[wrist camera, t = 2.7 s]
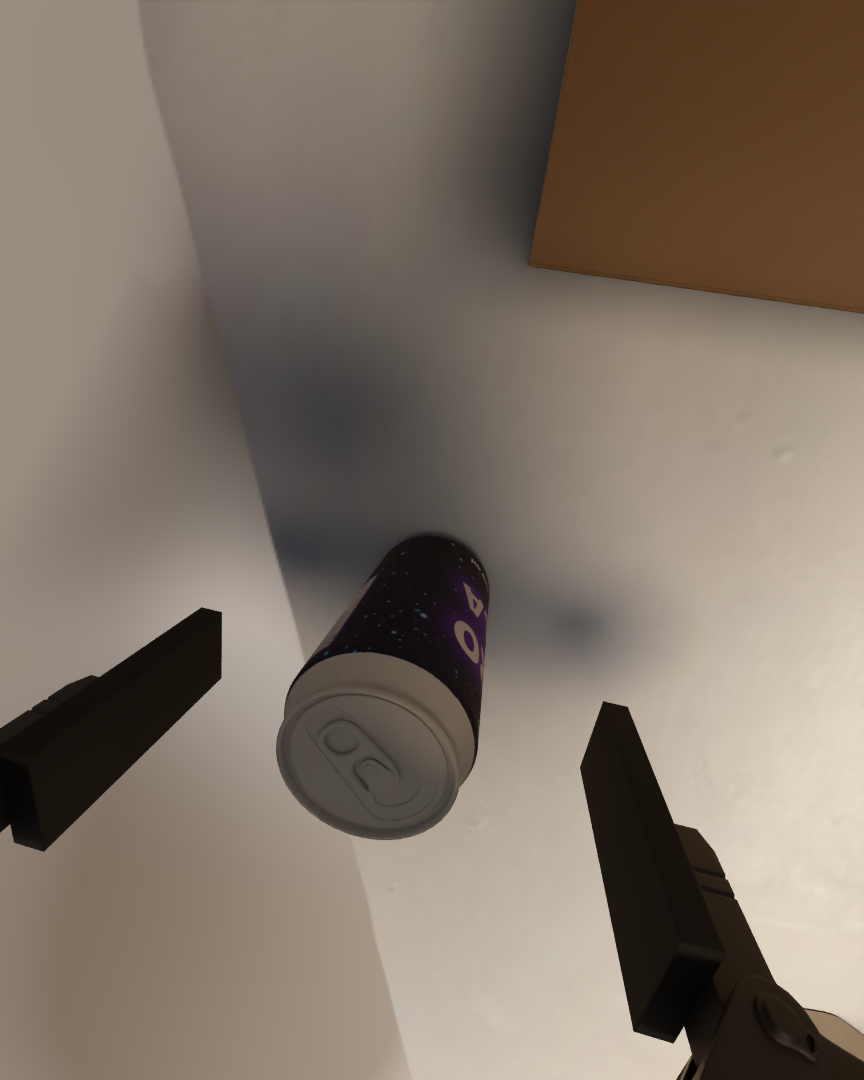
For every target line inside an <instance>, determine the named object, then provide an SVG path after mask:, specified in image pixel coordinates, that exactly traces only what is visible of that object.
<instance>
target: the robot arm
mask: <svg viewBox="0 0 864 1080" xmlns="http://www.w3.org/2000/svg"><path fill="white" fill-rule="evenodd" d="M221 653H222V612H219V611H214V610H210V609H206V608H200V609H199V610H197V611H196V612H194V613H193V614H191V615H190V616H188V617H187V618H185V619H184V620H182V621H181V622H180V623H178V624H177V625H175V626H174V627H172V628H171V629H169V630H168V631H167V632H165V633H163V634H162V635H160V636H159V637H158V638H156V639H155V640H153V641H152V642H150V643H149V644H147V645H146V646H145V647H143V648H141V649H140V650H138V651H137V652H136V653H134V654H133V655H131V656H130V657H128V658H127V659H125V660H124V661H122V662H121V663H120V664H118V665H117V666H115V667H114V668H112V669H111V670H109V671H108V672H106V673H105V674H103V675H102V676H101V677H96V676H92V675H90V676H88V677H85V678H83V679H80V680H78V681H75V682H73V683H70V684H68V685H66V686H65V687H63V688H62V689H60V690H59V691H57V692H55V693H54V694H53V695H51V696H49V697H48V699H47V700H43V701H42V702H40V703H39V704H37V705H36V706H34V707H33V708H32V710H31V711H30V710H28V711H26V712H25V713H23V714H22V715H20V716H19V717H17V718H15V719H14V720H12V721H11V722H9V723H8V724H6V725H5V726H3V727H2V728H0V832H1V831H2V830H4V829H5V828H6V827H7V826H8V825H11V829H12V835H13V839H14V843H17V844H20V845H24V846H27V847H30V848H33V849H37V850H40V851H45V850H46V849H47V848H48V847H49V846H50V845H51V844H52V843H53V842H54V841H55V840H56V839H57V838H58V837H59V836H60V835H61V834H63V832H64V831H66V829H68V828H69V827H70V826H71V825H72V824H73V823H74V822H75V821H76V820H77V819H78V818H79V817H80V816H81V815H82V814H83V813H84V812H85V811H86V810H87V809H88V808H89V807H90V806H91V805H92V804H93V803H94V802H95V801H96V800H97V799H98V798H99V797H100V796H101V795H102V794H103V793H104V792H105V791H106V790H107V789H108V788H109V787H110V786H111V785H113V784H114V783H115V782H116V780H118V779H119V778H120V777H121V776H122V775H123V774H124V773H125V772H126V771H127V770H128V769H129V768H130V767H131V766H132V765H133V764H134V763H135V762H136V761H137V760H138V759H139V758H140V757H141V756H142V755H143V754H144V753H145V752H146V751H147V750H148V749H149V748H150V747H151V746H152V745H153V744H154V743H155V742H157V740H159V739H160V738H161V736H163V735H164V734H165V733H166V732H167V731H168V730H169V729H170V728H171V727H172V726H173V725H174V724H175V723H176V722H177V721H178V720H179V719H180V718H181V717H182V716H183V715H184V714H185V713H186V712H187V711H188V710H189V709H190V708H191V707H192V706H193V705H194V704H195V703H196V702H197V701H198V700H199V699H200V698H201V697H202V696H203V695H204V694H206V693H207V691H209V690H210V689H211V688H212V687H213V686H214V685H215V684H216V683H217V682H218V681H219V680H220V679H221V657H222V654H221ZM580 770H581V775H582V780H583V784H584V789H585V794H586V799H587V804H588V809H589V814H590V819H591V824H592V829H593V834H594V839H595V844H596V848H597V853H598V858H599V863H600V868H601V873H602V878H603V883H604V888H605V893H606V898H607V903H608V908H609V912H610V917H611V922H612V927H613V932H614V937H615V942H616V947H617V952H618V957H619V962H620V967H621V972H622V976H623V981H624V986H625V991H626V996H627V1001H628V1006H629V1011H630V1016H631V1021H632V1026H633V1031H634V1032H637V1033H641V1034H644V1035H647V1036H650V1037H654V1038H657V1039H660V1040H664V1041H667V1042H670V1043H673V1044H674V1042H675V1040H676V1039H677V1037H678V1035H679V1034H680V1032H681V1030H682V1029H683V1027H685V1031H686V1034H687V1038H688V1041H689V1045H690V1048H691V1052H692V1055H691V1057H690V1059H689V1060H688V1062H687V1063H686V1065H685V1067H684V1068H683V1070H682V1071H681V1073H680V1074H679V1076H678V1078H677V1079H676V1080H864V1061H862V1060H861V1059H859V1058H857V1057H856V1056H854V1055H852V1054H851V1053H849V1052H848V1051H846V1050H844V1049H843V1048H841V1047H839V1046H838V1045H836V1044H835V1043H833V1042H831V1041H830V1040H829V1039H827V1038H826V1037H824V1036H823V1035H822V1034H820V1033H819V1030H818V1029H817V1027H816V1026H815V1024H814V1023H813V1021H812V1020H811V1018H810V1017H809V1015H808V1014H807V1012H806V1011H805V1010H804V1008H803V1007H802V1006H801V1005H800V1004H799V1003H798V1002H797V1001H796V1000H795V999H794V998H793V997H792V996H791V995H790V994H789V993H788V992H787V991H785V990H784V989H783V988H781V987H780V986H778V985H777V984H776V982H775V980H774V978H773V977H772V975H771V973H770V970H769V968H768V966H767V964H766V962H765V960H764V957H763V955H762V953H761V951H760V949H759V947H758V944H757V942H756V940H755V938H754V936H753V934H752V932H751V929H750V927H749V925H748V923H747V921H746V919H745V916H744V914H743V912H742V910H741V908H740V906H739V903H738V901H737V900H736V899H735V898H734V893H733V890H732V888H731V886H730V884H729V882H728V880H726V879H725V873H724V871H723V869H722V867H721V865H720V862H719V860H718V858H717V856H716V854H715V852H714V850H713V849H712V848H711V847H710V845H709V844H708V843H707V842H706V840H705V839H704V838H703V837H702V835H701V834H700V833H699V832H698V830H697V829H693V828H689V827H685V826H681V825H678V824H674V822H673V820H672V817H671V815H670V812H669V810H668V807H667V805H666V802H665V800H664V797H663V795H662V792H661V790H660V787H659V785H658V782H657V780H656V777H655V775H654V772H653V770H652V767H651V764H650V762H649V759H648V757H647V754H646V752H645V749H644V747H643V744H642V742H641V739H640V737H639V734H638V732H637V729H636V727H635V724H634V722H633V719H632V717H631V714H630V712H629V709H628V707H625V706H621V705H617V704H613V703H608V702H604V701H603V703H602V706H601V709H600V712H599V715H598V718H597V720H596V723H595V726H594V729H593V732H592V735H591V738H590V740H589V743H588V746H587V749H586V752H585V755H584V758H583V760H582V763H581V766H580Z"/></svg>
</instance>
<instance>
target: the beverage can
mask: <svg viewBox="0 0 864 1080" xmlns="http://www.w3.org/2000/svg"><path fill="white" fill-rule="evenodd" d="M488 604H489V584H488V579H487V576H486V573H485V571H484V569H483V567H482V565H481V564H480V562H479V561H478V560H477V558H476V557H475V556H474V555H473V554H472V553H471V552H470V551H469V550H467V549H466V548H465V547H463V546H462V545H460V544H458V543H456V542H454V541H452V540H449V539H446V538H442V537H437V536H420V537H415V538H411V539H408V540H406V541H403V542H401V543H400V544H398V545H396V546H395V547H394V548H393V549H391V550H390V551H389V552H388V553H387V555H386V556H385V557H384V558H383V560H382V561H381V563H380V564H379V565H378V567H377V568H376V569H375V571H374V572H373V573H372V575H371V576H370V577H369V579H368V580H367V581H366V583H365V584H364V586H363V587H362V588H361V590H360V591H359V592H358V594H357V595H356V596H355V598H354V599H353V600H352V602H351V603H350V604H349V606H348V607H347V609H346V610H345V611H344V613H343V614H342V615H341V617H340V618H339V619H338V621H337V622H336V623H335V625H334V626H333V627H332V629H331V630H330V632H329V633H328V634H327V636H326V637H325V638H324V640H323V641H322V642H321V644H320V645H319V646H318V648H317V649H316V650H315V652H314V653H313V655H312V656H311V657H310V659H309V660H308V661H307V663H306V664H305V665H304V667H303V668H302V669H301V671H300V672H299V674H298V675H297V676H296V678H295V679H294V681H293V682H292V684H291V686H290V688H289V691H288V694H287V697H286V702H285V709H284V720H283V722H282V724H281V727H280V729H279V733H278V736H277V744H276V745H277V746H276V754H277V762H278V766H279V769H280V772H281V775H282V777H283V779H284V781H285V783H286V785H287V787H288V788H289V790H290V791H291V792H292V794H293V796H294V797H295V798H296V799H297V800H298V801H299V803H300V804H301V805H302V806H303V807H305V808H306V809H307V810H308V811H309V812H310V813H311V814H313V815H314V816H315V817H317V818H318V819H320V820H321V821H322V822H324V823H326V824H328V825H330V826H332V827H333V828H335V829H338V830H340V831H343V832H345V833H348V834H351V835H354V836H358V837H362V838H368V839H376V840H394V839H402V838H407V837H412V836H414V835H417V834H420V833H423V832H425V831H426V830H428V829H430V828H432V827H433V826H435V825H436V824H437V823H438V822H440V821H441V820H442V819H443V818H444V817H445V816H446V814H447V813H448V812H449V811H450V809H451V807H452V805H453V803H454V802H455V799H456V797H457V794H458V790H459V787H460V786H461V785H462V784H463V783H464V781H465V780H466V778H467V777H468V775H469V774H470V772H471V770H472V768H473V765H474V763H475V760H476V756H477V750H478V737H479V724H480V711H481V697H482V684H483V671H484V657H485V644H486V631H487V617H488Z"/></svg>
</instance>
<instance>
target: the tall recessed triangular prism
mask: <svg viewBox="0 0 864 1080" xmlns="http://www.w3.org/2000/svg"><path fill="white" fill-rule="evenodd" d="M804 1010H805V1009H804ZM805 1011H806V1012H807V1014H808V1015H809V1017H810V1018H811V1020H812V1021H813V1023H814V1024H815V1026H816V1027H817V1029H818V1030H819V1033H820V1034H822V1035H823V1036H824V1037H826V1038H827V1039H829V1040H830V1041H831V1042H833V1043H835V1044H836V1045H838V1046H839V1047H841V1048H843V1049H844V1050H846V1051H848V1052H849V1053H851V1054H852V1055H854V1056H856V1057H857V1058H859V1059H861V1060H862V1061H864V1035H862V1034H861V1033H859V1032H858V1031H857V1030H855V1029H854V1028H853V1027H851V1026H850V1025H849V1024H847V1023H846V1022H844V1021H843V1020H841V1019H840V1018H838V1017H836V1016H833V1015H831V1014H827V1013H823V1012H817V1011H811V1010H805Z"/></svg>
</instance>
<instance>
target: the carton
mask: <svg viewBox="0 0 864 1080" xmlns="http://www.w3.org/2000/svg"><path fill="white" fill-rule="evenodd" d="M529 266H533V267H541V268H548V269H555V270H562V271H569V272H576V273H583V274H590V275H597V276H605V277H612V278H619V279H626V280H633V281H640V282H647V283H654V284H661V285H669V286H676V287H683V288H690V289H697V290H704V291H711V292H718V293H725V294H733V295H740V296H747V297H754V298H761V299H768V300H775V301H782V302H789V303H797V304H804V305H811V306H818V307H825V308H832V309H839V310H846V311H853V312H861V313H864V0H577V5H576V11H575V16H574V21H573V27H572V32H571V38H570V43H569V48H568V54H567V59H566V65H565V70H564V76H563V81H562V86H561V92H560V97H559V103H558V108H557V113H556V119H555V124H554V130H553V135H552V141H551V146H550V151H549V157H548V162H547V168H546V173H545V179H544V184H543V189H542V195H541V200H540V206H539V211H538V216H537V222H536V227H535V233H534V238H533V244H532V249H531V254H530V260H529Z"/></svg>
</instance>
